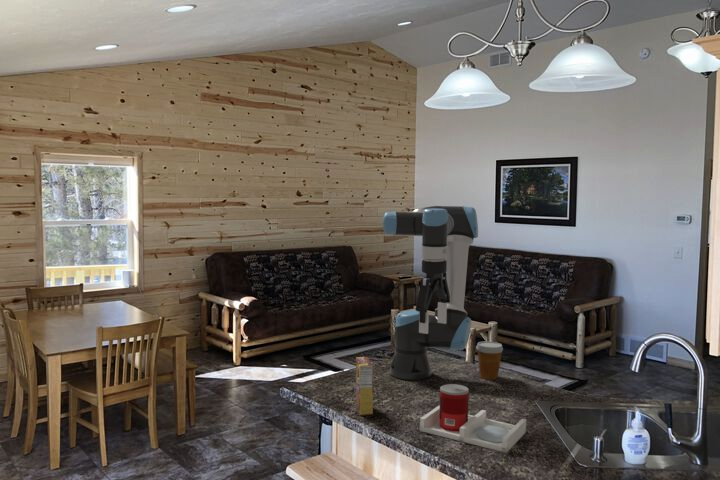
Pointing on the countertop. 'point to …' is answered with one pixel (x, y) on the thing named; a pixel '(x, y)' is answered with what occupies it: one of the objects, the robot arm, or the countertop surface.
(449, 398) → the canned food
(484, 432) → the saucer
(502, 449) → the rack
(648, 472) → the countertop surface
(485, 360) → the disposable coffee cup
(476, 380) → the countertop surface
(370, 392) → the candy box
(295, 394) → the countertop surface
